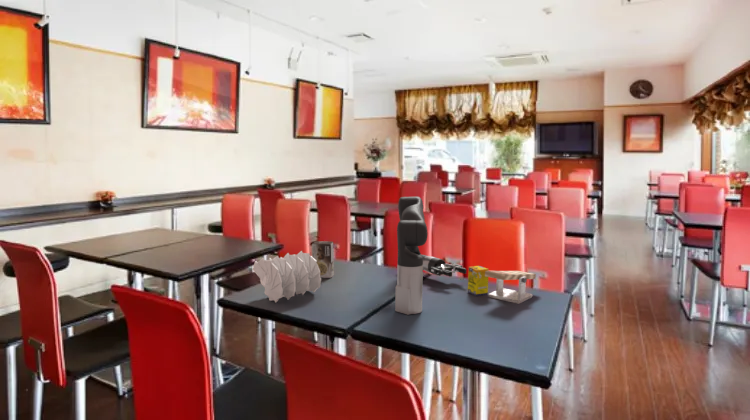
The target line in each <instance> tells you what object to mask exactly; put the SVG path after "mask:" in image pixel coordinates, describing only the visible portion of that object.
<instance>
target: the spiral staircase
mask: <svg viewBox="0 0 750 420" xmlns="http://www.w3.org/2000/svg"><path fill="white" fill-rule="evenodd" d="M316 262H317V261H316V260H315V259H314V258H313V257H312V255H311V254H310V253H308V252H303V250H300V251H299V252H298V253H297V254H294V253H293V254H290V253H289V252H287V253H286V254H285V255H284V256H283V257H282V256H280V257H279V255H276V256H275V257H273V258H271V257H269V258H268V259H265V258H264V257H261V258H260V259H259V260H258V261H257V260H255V261H254V264H253V267H252V271H254V272H253V273H255V274H256V275H257V277H258V278H259V281H260V284H261V285H262V286H263V287H264V295H266V296H267V297H268V300H269V301H270V302H271V301H274V303H277V302H278V301H279V300H280V299H282V298H286V299H287V300H290V299H291V298H292V297H295V294H296V295H300V294H301V295H302V296H304V294H306V292H313V293H315V292H316V291H317V290H318V289H320V288H321V283H322V278H320V269H319V267H318V264H317V263H316Z"/></svg>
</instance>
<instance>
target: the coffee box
mask: <svg viewBox="0 0 750 420" xmlns="http://www.w3.org/2000/svg"><path fill="white" fill-rule="evenodd" d="M311 248H312V249H311V251H312V254H311V256H312V257H313V258H314V259H315V260H316V261H317V262H316V263H317V264H318V267H319V269H320V278H321V279H322V278H329V279H332V278H333V277H334V276H335V272H334V271H335V269H334V268H335V267H334V265H335V263H334V262H335V261H334V260H335V258H334V256H335V255H334V241H318V240H317V241H313V243H312V244H311Z"/></svg>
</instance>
